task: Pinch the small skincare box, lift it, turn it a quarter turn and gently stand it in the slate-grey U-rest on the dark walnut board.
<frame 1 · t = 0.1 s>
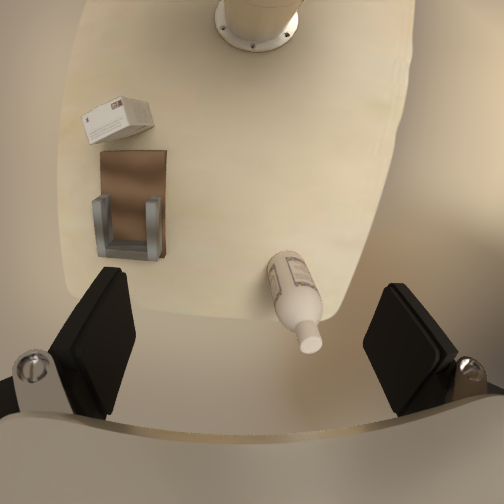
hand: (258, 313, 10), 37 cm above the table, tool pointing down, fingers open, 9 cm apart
bath foam: (285, 266, 52), on the table
skincare box: (135, 119, 38), on the table
u rest: (134, 203, 44), on the table
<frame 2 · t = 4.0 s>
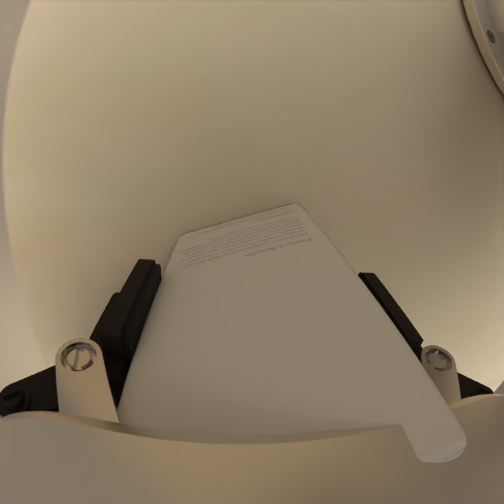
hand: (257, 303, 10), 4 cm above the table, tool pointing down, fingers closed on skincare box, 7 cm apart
skincare box: (250, 249, 14), on the table, touching gripper
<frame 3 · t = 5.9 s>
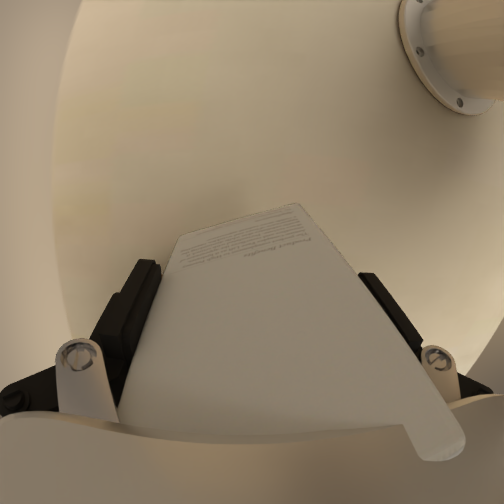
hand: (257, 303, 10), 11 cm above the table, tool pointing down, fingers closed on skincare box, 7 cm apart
skincare box: (250, 249, 14), point 7 cm above the table, touching gripper
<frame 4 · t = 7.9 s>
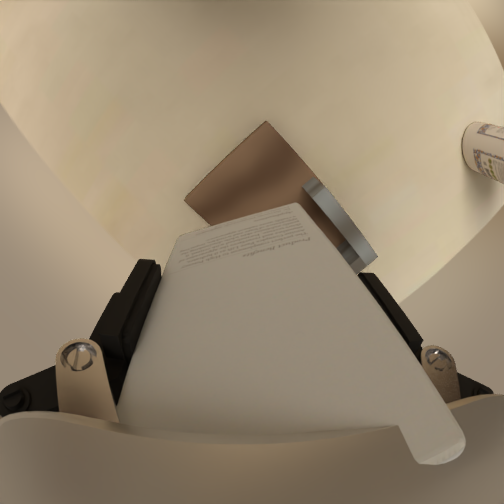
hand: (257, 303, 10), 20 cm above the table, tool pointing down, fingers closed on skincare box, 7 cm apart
bath foam: (475, 145, 27), on the table
skincare box: (250, 249, 14), point 16 cm above the table, touching gripper
u rest: (283, 219, 30), on the table
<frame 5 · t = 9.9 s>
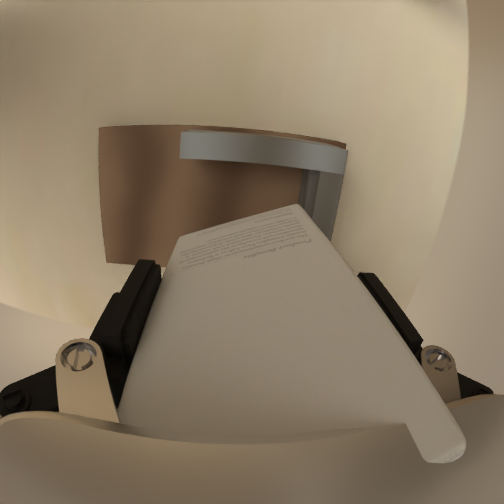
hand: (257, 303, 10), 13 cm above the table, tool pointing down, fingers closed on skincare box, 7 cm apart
skincare box: (250, 250, 14), point 9 cm above the table, touching gripper
u rest: (215, 197, 22), on the table
when the fingers open (7 cm above the table, at t = 11.9 s): skincare box stays where it is, resting on u rest.
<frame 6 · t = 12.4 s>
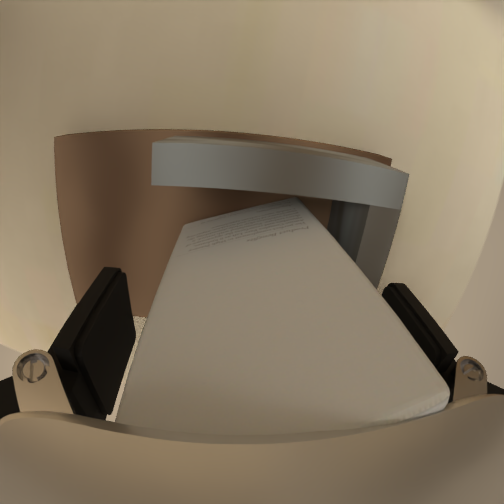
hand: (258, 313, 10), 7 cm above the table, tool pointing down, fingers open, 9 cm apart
skincare box: (251, 239, 15), point 1 cm above the table, touching u rest
u rest: (212, 229, 16), on the table
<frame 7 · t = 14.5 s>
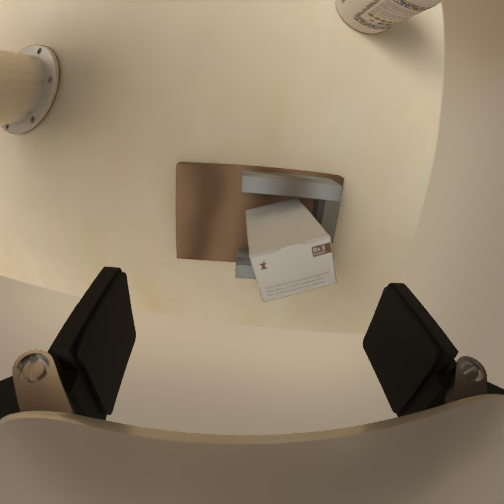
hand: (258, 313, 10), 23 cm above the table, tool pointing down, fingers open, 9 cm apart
bath foam: (361, 11, 22), on the table
skincare box: (276, 218, 31), point 1 cm above the table, touching u rest
u rest: (256, 214, 33), on the table
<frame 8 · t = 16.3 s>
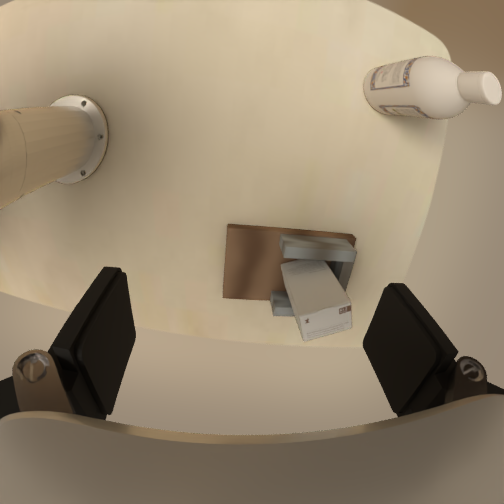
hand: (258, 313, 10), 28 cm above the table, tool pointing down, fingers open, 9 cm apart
bath foam: (383, 90, 31), on the table
skincare box: (303, 268, 40), point 1 cm above the table, touching u rest
u rest: (287, 264, 41), on the table
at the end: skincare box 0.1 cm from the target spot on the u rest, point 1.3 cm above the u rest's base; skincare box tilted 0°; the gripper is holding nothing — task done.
